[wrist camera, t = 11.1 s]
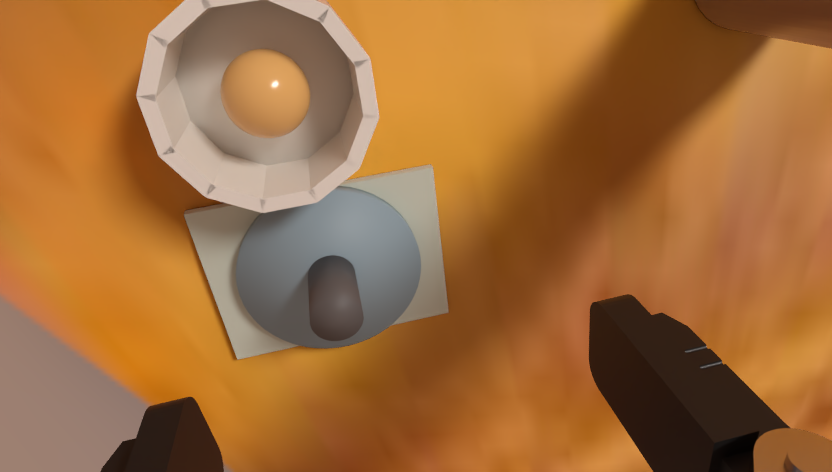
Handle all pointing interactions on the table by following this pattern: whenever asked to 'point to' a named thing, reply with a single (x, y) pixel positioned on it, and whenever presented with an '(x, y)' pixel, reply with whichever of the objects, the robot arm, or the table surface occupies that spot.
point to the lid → (329, 269)
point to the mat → (402, 189)
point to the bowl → (258, 100)
